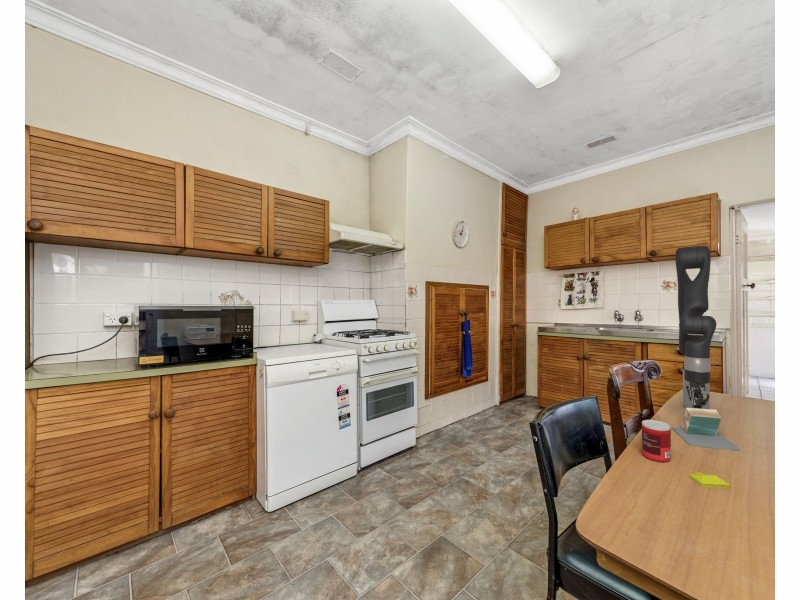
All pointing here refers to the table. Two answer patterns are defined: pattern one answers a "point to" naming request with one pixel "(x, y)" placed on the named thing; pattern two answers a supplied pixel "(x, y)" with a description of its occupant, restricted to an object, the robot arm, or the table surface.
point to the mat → (706, 440)
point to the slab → (701, 421)
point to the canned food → (656, 441)
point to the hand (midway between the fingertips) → (697, 414)
